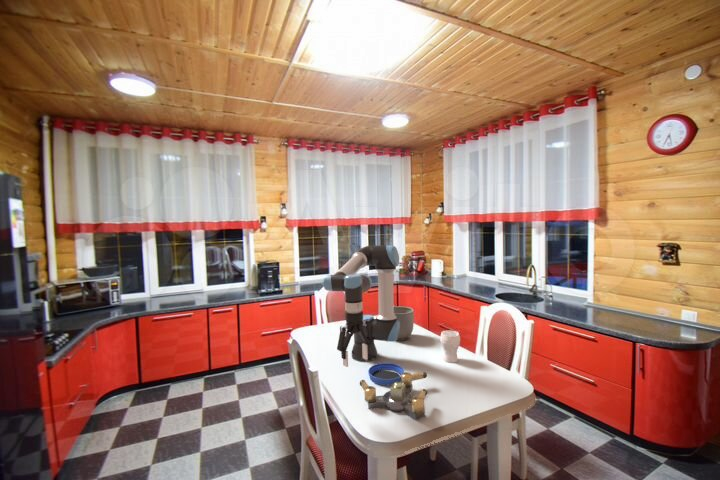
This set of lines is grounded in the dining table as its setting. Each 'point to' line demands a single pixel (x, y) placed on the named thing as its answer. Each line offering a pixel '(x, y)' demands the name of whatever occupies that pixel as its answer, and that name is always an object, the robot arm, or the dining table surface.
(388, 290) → the robot arm
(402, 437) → the dining table surface
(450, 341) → the cup
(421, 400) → the brass lever handle
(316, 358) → the dining table surface
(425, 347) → the dining table surface
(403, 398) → the tribrach
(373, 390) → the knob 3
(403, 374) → the brass tap handle
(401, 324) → the planter
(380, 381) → the bowl
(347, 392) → the dining table surface
